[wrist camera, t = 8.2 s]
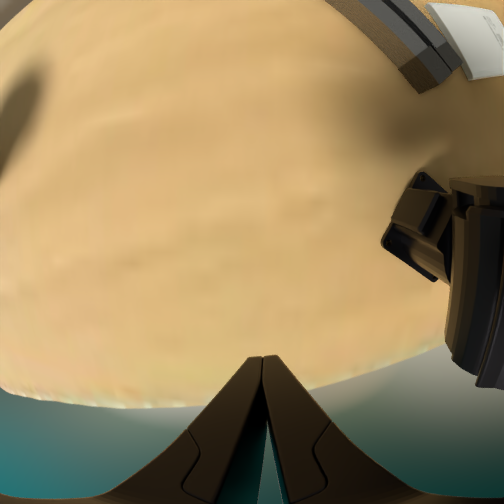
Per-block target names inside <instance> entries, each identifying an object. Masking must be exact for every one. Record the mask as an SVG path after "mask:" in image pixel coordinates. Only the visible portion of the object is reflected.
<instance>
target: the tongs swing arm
mask: <svg viewBox="0 0 504 504" xmlns="http://www.w3.org/2000/svg"><path fill="white" fill-rule="evenodd" d="M325 1H326V2H327V3H329V4H330V5H331V6H333V7H334V8H335V9H336V10H338V11H339V12H340V13H341V14H343V15H344V16H345V17H346V18H347V19H349V20H350V21H351V22H352V23H353V24H354V25H356V26H357V27H358V28H359V29H360V30H361V31H362V32H363V33H364V34H365V35H367V36H368V37H369V38H370V39H371V40H372V41H373V42H374V43H375V44H376V45H377V46H378V47H379V48H380V49H381V50H382V51H383V52H384V53H385V54H386V55H387V56H388V57H389V59H390V60H391V61H392V62H393V63H394V64H395V65H396V66H397V67H398V68H399V69H398V70H399V71H400V72H401V73H402V74H403V76H404V77H405V78H406V79H407V80H408V81H409V83H410V84H411V85H412V86H413V88H414V89H415V90H416V91H417V93H418V94H420V93H422V92H424V91H426V90H428V89H431V88H433V87H435V86H437V85H439V84H441V83H442V82H443V81H444V80H445V79H446V78H447V77H448V76H449V75H451V74H452V72H451V71H450V69H449V68H448V67H447V65H446V64H445V63H444V62H443V60H442V59H441V58H440V57H439V55H438V54H437V53H436V52H435V51H434V49H433V48H432V47H431V46H429V47H428V46H427V45H426V44H425V43H424V42H423V41H422V39H421V38H420V37H419V36H418V35H417V34H416V33H415V32H414V31H413V30H412V29H411V28H410V27H409V26H408V25H407V24H406V23H405V22H404V21H403V20H402V19H401V18H400V17H399V16H398V15H397V14H396V13H395V12H394V11H393V10H392V9H390V8H389V7H388V6H387V5H386V4H385V3H384V2H382V1H381V0H325Z"/></svg>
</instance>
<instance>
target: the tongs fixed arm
mask: <svg viewBox="0 0 504 504" xmlns="http://www.w3.org/2000/svg"><path fill="white" fill-rule="evenodd" d="M381 1H382V2H384V3H385V4H386V5H387V6H388V7H389V8H390V9H392V10H393V11H394V12H395V13H396V14H397V15H398V16H399V17H400V18H401V19H402V20H403V21H404V22H405V23H406V24H407V25H408V26H409V27H410V28H411V29H412V30H413V31H414V32H415V33H416V34H417V35H418V36H419V37H420V38H421V39H422V41H423V42H424V43H425V44H426V45H427V46H428V47H429V46H431V47H432V48H433V49H434V51H435V52H436V53H437V54H438V55H439V57H440V58H441V59H442V60H443V62H444V63H445V64H446V65H447V67H448V68H449V69H450V71H451V72H453V71H454V70H455V69H456V68H457V67H459V66H460V65H461V64H462V63H464V62H463V61H462V60H461V58H460V57H459V56H458V54H457V53H456V52H455V50H454V49H453V48H452V47H451V45H450V44H449V43H448V42H447V40H446V39H445V38H444V37H443V35H442V34H441V33H440V32H439V31H438V30H437V29H436V27H435V26H434V25H433V24H432V23H431V22H430V21H429V20H428V19H427V18H426V17H425V16H424V15H423V13H422V12H421V11H420V10H419V9H418V8H417V7H416V6H415V5H413V4H412V3H411V2H410V1H409V0H381Z"/></svg>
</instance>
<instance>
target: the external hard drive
mask: <svg viewBox="0 0 504 504" xmlns="http://www.w3.org/2000/svg"><path fill="white" fill-rule="evenodd" d="M424 7H425V8H426V9H427V11H428V12H429V14H430V15H431V16H432V18H433V19H434V21H435V22H436V24H437V25H438V27H439V28H440V30H441V31H442V33H443V35H444V36H445V38H446V40H447V41H448V43H449V44H450V45H451V47H452V48H453V49H454V50H455V52H456V53H457V54H458V56H459V57H460V58H461V60H462V61H463V62H464V63H462V64H461V67H462V69H463V71H464V73H465V75H466V77H467V79H468V81H471V80H476V79H482V78H489V77H496V76H504V27H503V25H502V23H501V22H500V20H499V18H498V17H497V15H496V14H495V13H494V12H493V11H492V10H488V9H483V8H477V7H471V6H464V5H456V4H445V3H427V4H426V5H425V6H424Z"/></svg>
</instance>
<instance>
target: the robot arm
mask: <svg viewBox="0 0 504 504" xmlns="http://www.w3.org/2000/svg"><path fill="white" fill-rule="evenodd" d="M421 175H422V177H423V180H422V181H421V180H420V176H421ZM449 181H450V188H451V189H452V194H448V193H447V192H446V191H445V190H444V189H443V188H442V187H441V186H440V185H439V184H438V183H436V182H435V181H434V180H433V179H432V178H431V177H430V176H429V175H427V174H426V173H425V172H417V173H416V174H415V176H414V178H413V180H412V182H411V184H410V186H409V188H408V189H406V190H405V192H404V194H403V196H402V198H401V200H400V202H399V203H398V205H397V207H396V209H395V211H394V213H393V215H392V217H391V223H390V225H389V226H388V228H387V230H386V232H385V234H384V235H383V237H382V239H381V246H382V247H383V248H384V249H386V250H387V251H389V252H390V253H392V254H393V255H395V256H396V257H398V258H399V259H401V260H402V261H403V262H405V263H406V264H408V265H409V266H411V267H412V268H413V269H415V270H416V271H418V272H419V273H420V274H422V275H423V276H425V277H426V278H427V279H429V280H430V281H431V282H436V281H437V280H438V279H440V280H442V281H443V282H445V283H446V284H448V285H449V286H450V294H449V303H448V311H447V318H446V325H445V342H446V344H447V346H448V348H449V349H450V352H451V353H452V357H451V359H452V361H453V362H455V363H456V364H457V365H458V366H459V367H460V368H462V369H463V370H465V371H467V372H469V373H470V374H472V375H475V376H478V377H477V380H476V383H475V386H476V387H481V388H497V389H501V390H504V176H480V177H463V178H450V179H449ZM387 240H389V241H390V242H389V244H388V245H386V241H387ZM433 275H434V277H433V278H432V276H433ZM267 421H268V428H269V434H270V439H271V445H272V450H273V456H274V461H275V466H276V471H277V476H278V481H279V486H280V491H281V497H282V502H283V504H504V497H503V498H471V497H457V496H445V495H438V494H431V493H426V492H423V491H420V490H417V489H415V488H413V487H411V486H409V485H407V484H406V483H404V482H403V481H401V480H400V479H399V478H397V477H396V476H394V475H393V474H392V473H390V472H389V471H387V470H386V469H385V468H384V467H382V466H381V465H380V464H378V463H377V462H376V461H374V460H373V459H372V458H371V457H369V456H368V455H367V454H365V453H364V452H363V451H362V450H361V449H359V447H357V446H356V445H355V444H354V443H353V442H352V441H351V440H350V439H349V438H348V437H347V436H346V435H345V434H344V433H343V432H342V431H341V430H340V429H339V427H338V426H337V425H336V424H335V423H334V422H332V420H331V419H330V417H329V416H328V415H327V414H326V413H325V412H324V410H323V409H322V408H321V407H320V406H319V405H318V403H317V402H316V401H315V400H314V399H313V397H312V396H311V395H310V394H309V393H308V392H307V390H306V389H305V388H304V387H303V386H302V384H301V383H300V382H299V381H298V380H297V378H296V377H295V376H294V375H293V373H292V372H291V371H290V370H289V369H288V367H287V366H286V365H285V364H284V362H283V361H282V360H281V359H280V357H279V356H278V355H269V356H264V357H261V356H257V357H249V358H247V360H246V361H245V362H244V363H243V364H242V366H241V367H240V368H239V369H238V370H237V372H236V373H235V374H234V375H233V376H232V377H231V379H230V380H229V381H228V382H227V383H226V384H225V386H224V387H223V388H222V389H221V390H220V391H219V393H218V394H217V395H216V396H215V397H214V398H213V399H212V401H211V402H210V403H209V404H208V405H207V406H206V407H205V408H204V410H203V411H202V412H201V413H200V414H199V415H198V416H197V417H196V418H195V420H194V421H193V422H192V423H191V424H190V425H189V426H188V427H187V429H185V430H184V431H183V432H182V433H181V434H180V435H179V437H177V438H176V439H175V440H174V441H173V442H172V443H171V444H170V445H169V446H168V447H167V448H166V449H165V450H164V451H163V452H162V453H160V454H159V455H158V456H157V457H156V458H154V459H153V460H152V461H151V462H150V463H148V464H147V465H146V466H144V467H143V468H142V469H140V470H139V471H137V472H136V473H135V474H133V475H132V476H130V477H129V478H128V479H126V480H125V481H123V482H122V483H120V484H119V485H118V486H116V487H115V488H113V489H111V490H109V491H107V492H105V493H103V494H100V495H97V496H93V497H86V498H70V499H33V498H19V497H12V496H8V495H4V494H1V493H0V504H257V503H258V496H259V489H260V482H261V474H262V467H263V460H264V452H265V444H266V436H267Z"/></svg>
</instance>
